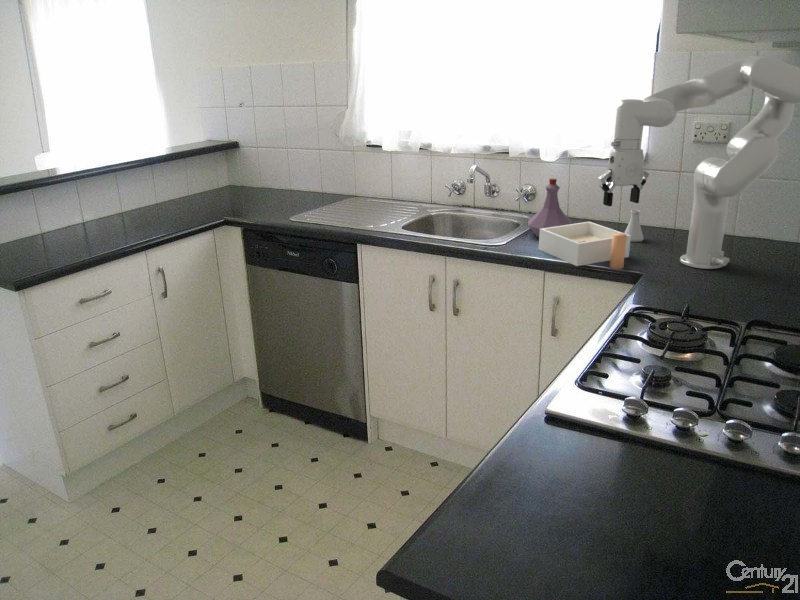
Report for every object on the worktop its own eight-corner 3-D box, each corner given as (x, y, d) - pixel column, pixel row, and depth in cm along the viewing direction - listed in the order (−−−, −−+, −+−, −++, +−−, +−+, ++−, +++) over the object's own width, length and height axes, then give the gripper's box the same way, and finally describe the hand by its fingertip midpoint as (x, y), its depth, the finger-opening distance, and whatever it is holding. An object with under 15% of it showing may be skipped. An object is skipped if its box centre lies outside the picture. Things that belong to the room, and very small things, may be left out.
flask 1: (559, 228, 247) (562, 173, 240) (582, 239, 232) (587, 181, 225) (518, 232, 243) (520, 176, 235) (539, 244, 228) (542, 185, 221)
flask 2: (645, 242, 227) (648, 213, 223) (622, 242, 228) (625, 213, 225) (642, 237, 234) (645, 208, 230) (620, 236, 235) (623, 208, 231)
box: (628, 257, 212) (630, 235, 210) (576, 266, 205) (578, 244, 202) (587, 241, 230) (589, 221, 227) (538, 249, 222) (539, 228, 220)
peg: (626, 267, 203) (629, 235, 199) (615, 269, 201) (618, 237, 198) (617, 264, 206) (620, 232, 202) (606, 266, 205) (609, 234, 201)
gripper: (611, 148, 186) (605, 209, 192) (660, 144, 192) (653, 203, 198) (593, 145, 193) (588, 204, 199) (642, 141, 199) (635, 198, 205)
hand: (620, 203), depth 198 cm, fingers open, 9 cm apart
